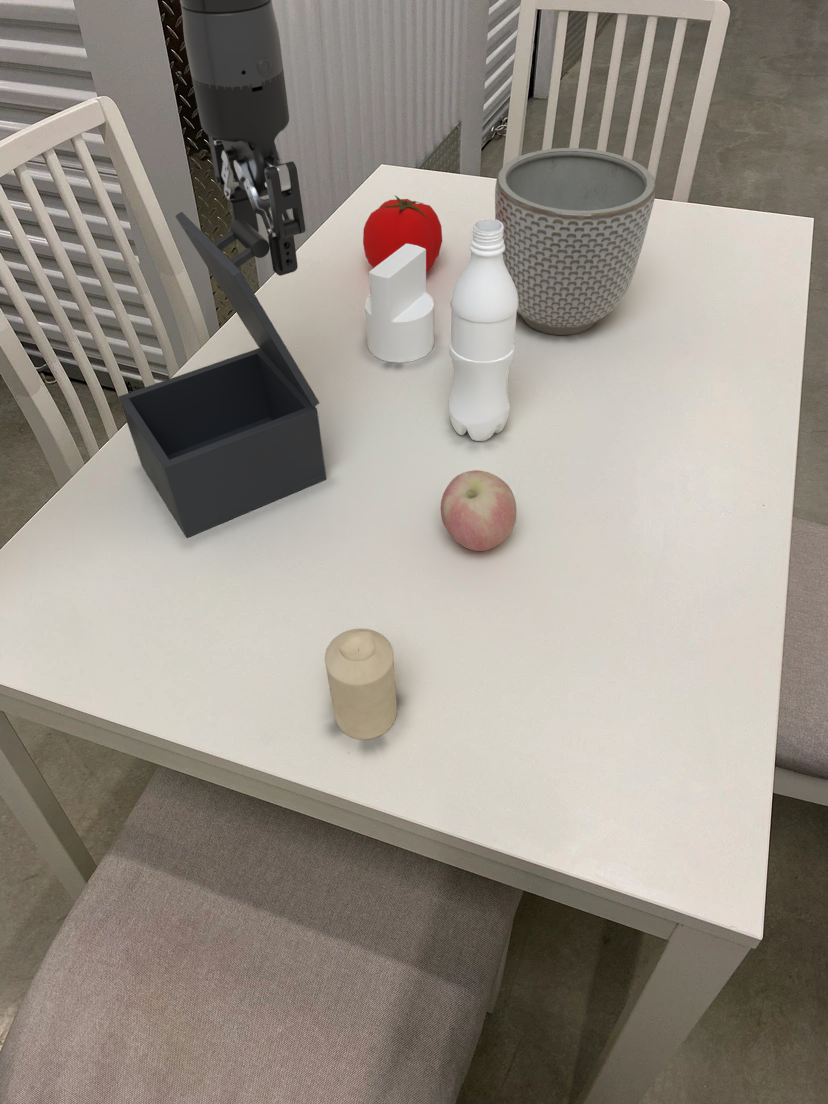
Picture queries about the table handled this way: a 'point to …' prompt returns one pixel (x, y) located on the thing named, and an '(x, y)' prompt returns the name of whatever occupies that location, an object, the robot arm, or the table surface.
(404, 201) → the tomato
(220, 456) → the dark grey open box
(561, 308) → the planter
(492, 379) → the water bottle
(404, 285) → the base with upright slab
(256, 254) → the dark grey box lid
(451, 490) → the apple
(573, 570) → the table surface
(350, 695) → the candle
